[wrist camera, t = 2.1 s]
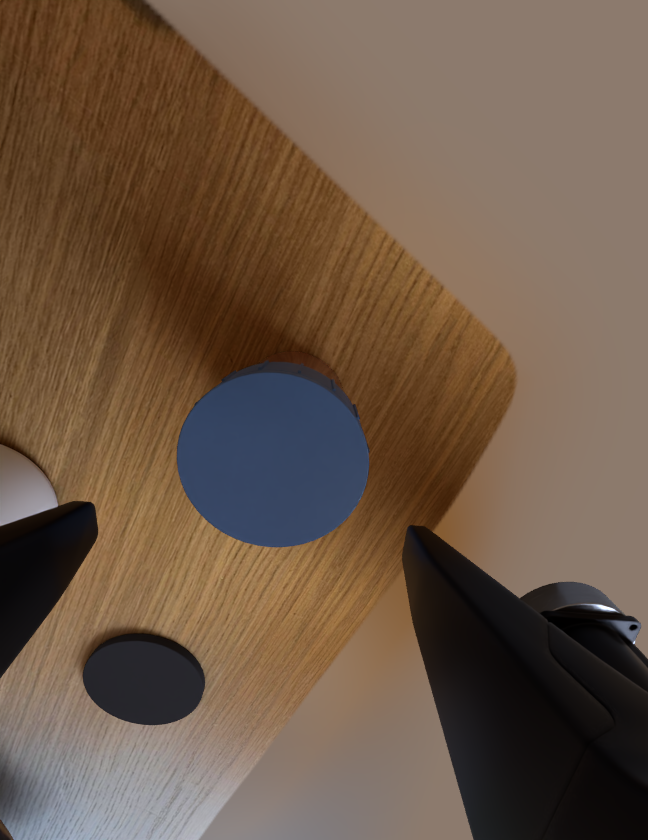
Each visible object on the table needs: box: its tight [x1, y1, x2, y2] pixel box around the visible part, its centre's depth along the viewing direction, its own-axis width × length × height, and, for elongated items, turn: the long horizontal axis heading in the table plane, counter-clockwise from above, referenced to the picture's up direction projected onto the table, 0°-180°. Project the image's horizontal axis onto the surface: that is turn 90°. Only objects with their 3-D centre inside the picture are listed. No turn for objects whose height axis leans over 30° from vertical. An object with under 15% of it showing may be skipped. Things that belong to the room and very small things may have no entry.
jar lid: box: [177, 360, 369, 547], centre depth 13 cm, size 7×7×2 cm
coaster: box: [83, 634, 205, 725], centre depth 26 cm, size 9×9×1 cm
